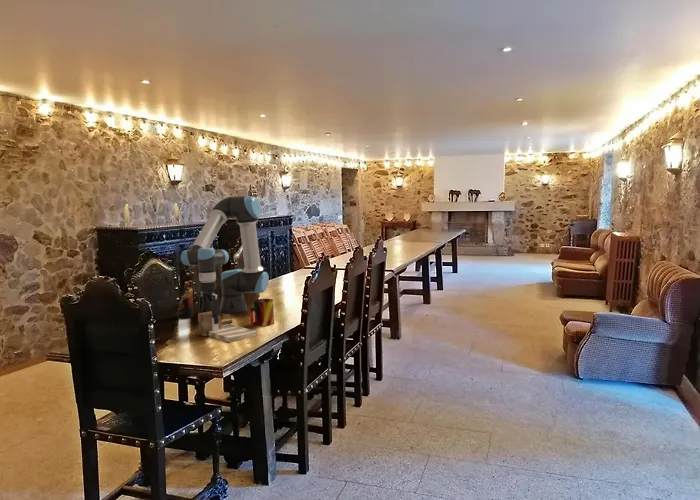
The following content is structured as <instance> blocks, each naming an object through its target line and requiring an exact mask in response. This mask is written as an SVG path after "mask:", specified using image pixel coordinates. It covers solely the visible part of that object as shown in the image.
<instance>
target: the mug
mask: <svg viewBox="0 0 700 500" xmlns="http://www.w3.org/2000/svg"><path fill="white" fill-rule="evenodd" d="M274 305H275V304H274V299H273V298H258V299H254V300H253V307H250V309H249V311H250V327H255V326H256V327H270V326H273V325H275V315H274V314H275V313H274V311H275V309H274Z"/></svg>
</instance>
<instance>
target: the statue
mask: <svg viewBox="0 0 700 500" xmlns="http://www.w3.org/2000/svg"><path fill="white" fill-rule="evenodd" d="M194 309H195V308H194V291H193V280H191V279H190V280H188V281H185V282H184V286H183V291H182V293H181V295H180V301H179V304H178V310H177V311H178V313H177V318H178V319H177V320H190V319H192V318H193V317H194V315H195V312H194Z"/></svg>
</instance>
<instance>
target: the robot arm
mask: <svg viewBox="0 0 700 500" xmlns="http://www.w3.org/2000/svg"><path fill="white" fill-rule="evenodd" d="M261 215H262V206H261V203H260V200H259V199H258V198H257V197H255V196H254V195H251V196H250V195H243V196H241V195H239V196H238V195H237V196H227V197H224V198H223V199H220V200H219V201H218V202H217V203H216V204H215V205H214V206H213V207H212V208H211V210H210V212H209V217H208V219H207V220H206V222H205V223H204V225H203V227H202V229H201V230H200V232H199V234H198V235H197V237H196V238H195V240H194V242H193V244H192V245H191V247H190V249H184V250H183V251H182V252H181V254H180V261H181V263H182V264H183V265H185V266H191V267H192V266H195V267H196V266H198V281H199V283H198V284H199V290H200V291H199V292H198V309H197V310H198V313H204V312H208V306H209V308H210V311H211V312H212V315H213V316H212V331H218V330H219V329H218V317H219V316H221V315H222V314H237V313H242V312H246V311H247V310H248V305H247V303H246V300H245V297H244V293H246V294H247V293H248V294H260V293H261V294H262V293H264V292H265V291H266V290H267V289H268V285H269V280H270V279H269V278H270V277H269V274H268V272H267V271H265V269H264V267H263V266H262V265H261V258H260V250H259V240H258V233H257V232H258V230H257V223H258V221H259V218H260V217H261ZM229 219H235V221H236V224H238V225H239V231H240V239H241V247H242V254H243V263H244V264H243V266H244V267H243V269H242V268H237V269H236V268H235V269H230V270H225V271H223V272H222V273H221V276H220V281H221V295H222V296H221V301H220V300H219V299H220V296H219V294H218V293H217V294H216V293H215V290H216V289H217V281H216V280H217V272H216V267H219V266H223V265H226V264H227V263H228V262H229V259H230V256H229V253H228V252H227V250H225V249H215V248H214V247H211V245H212V244H213V241H214V240H215V238H216V237H217V234H218V233H219V231H220V229H221V227H222V226H223V224H226V222H227V221H228V220H229Z"/></svg>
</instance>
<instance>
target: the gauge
mask: <svg viewBox="0 0 700 500" xmlns="http://www.w3.org/2000/svg"><path fill="white" fill-rule="evenodd" d="M212 316H213V315H212V312H211V310H210V311H207V312H204V313H200V312H198V314H197V321H198V334H199V335H201V336H202V337H203V336H204V337H205V336H206V337H208V335H207V332H209V331H212ZM221 318H222V317H221V316H219V317H218V329H221V326H223V325H228V324H229V325H230V324H232V325H233V319H227V320H222V319H221Z"/></svg>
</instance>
